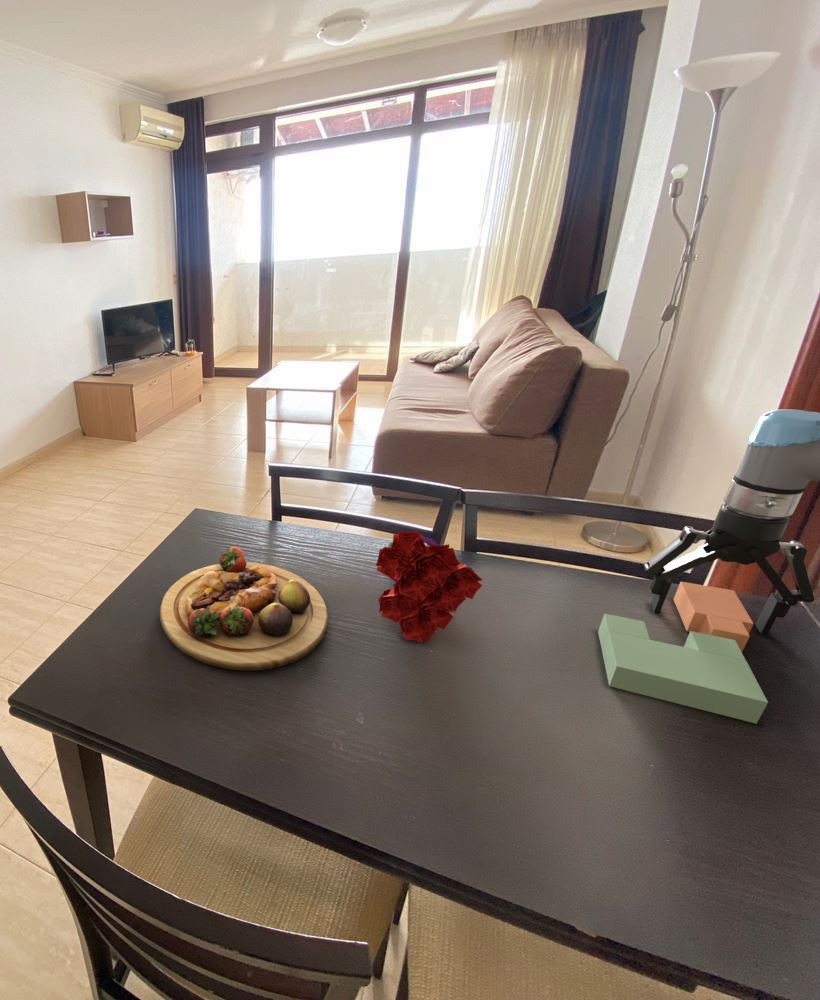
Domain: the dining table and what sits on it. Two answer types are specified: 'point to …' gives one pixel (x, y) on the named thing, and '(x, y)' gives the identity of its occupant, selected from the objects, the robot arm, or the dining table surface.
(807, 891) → the dining table surface
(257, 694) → the dining table surface
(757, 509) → the robot arm
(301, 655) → the wooden plate
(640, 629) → the green pad
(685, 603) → the peach pad
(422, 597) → the bouquet
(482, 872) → the dining table surface
